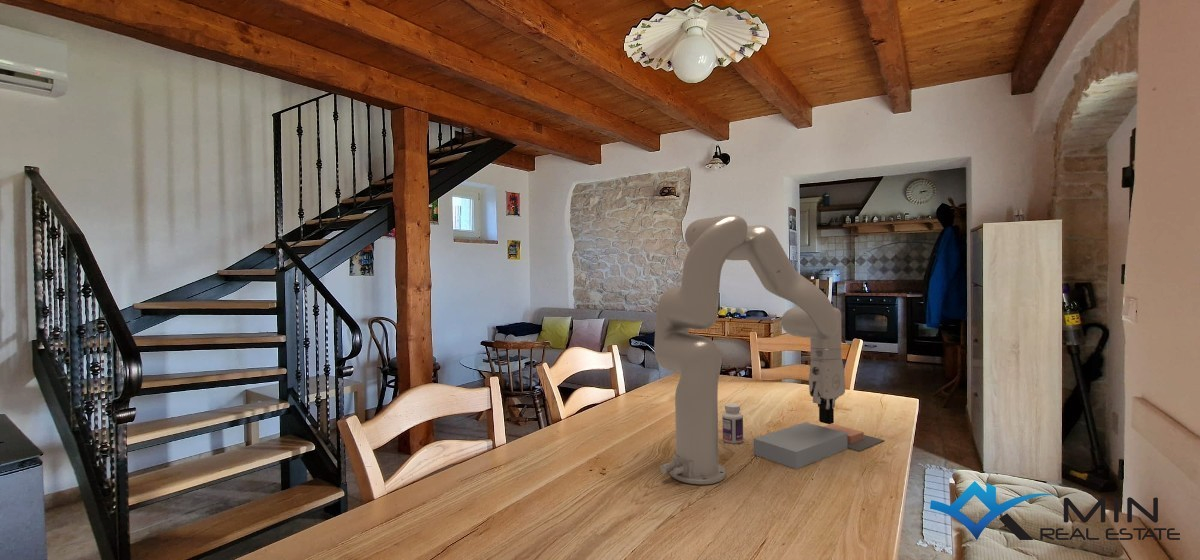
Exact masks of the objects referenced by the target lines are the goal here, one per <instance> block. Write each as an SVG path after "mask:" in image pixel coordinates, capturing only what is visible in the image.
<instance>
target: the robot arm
mask: <svg viewBox="0 0 1200 560" xmlns="http://www.w3.org/2000/svg"><path fill="white" fill-rule="evenodd" d="M684 232H685V233H684V240H685V243H686V245H687V247H688V248H689V250H688V252H687V254H686V256H685V259H684V263H683V268H682V277H681V285H680V286H674V287H671V288H668V289H667V290H666V291H664V292H663V294H662V295H661V296H660V298H659V300H658V303H657V308H656V312H655V313H656V314H655V325H654V327H655V328H654V329H655V330H654V345H653V347H654V348H653V349H654V357H655V359H656V361H657V363H658V365H659V366H660V367H661V368H662V369H665V370H667V371H670V372H672V373H676V374H679V375H680V378H679V380H678V383H677V386H676V388H675V395H674V407H675V409H674V410H675V414H674V415H675V416H674V417H675V419H674V420H675V454H673V455H672V460H671V461H670V462H667V463H663V464H660V466H659V469H660V472H661V474H664V475H665V474H667V473H669V475H670V476H671V477H672V478H673V479H674V480H677V481H679V482H682V483H685V484H691V485H712V484H717V483H719V482H721V481H722V480H724V479H725V477H726V475H727V474H726V469H725V467H724V466H723V465H722V464H720V463H719V412H718V411H719V406H718V404H719V403H718V401H719V400H718V398H719V397H718V396H719V395H718V393H719V391H718V390H719V378H720V373H721V367H722V363H723V358H722V353H721V350H720V347H719V346H718V344H717V343H716V342H715V341H713V340H712V339H710V338H709V337H706V336H703V335H697V334H694V333H693V334H692V333H690V329H691V330H707V329H710V328H711V327H713V326H714V324H715V323H716V322H717V318H718V314H719V313H718V312H719V302H720V301H719V300H720V285H721V284H720V283H721V276H722V275H721V273H722V269H723V266H724V264H725V262H726V261H727V260H728V261H748V263H749V265H750V266H751V268H752V269H753V270H754V272H755V274H756V276H757V277H758V279H759V281H760V283H761V285H762V287H764V290H766V291H767V292H770V293H772V294H774V295H775V296H777V297H779V298H782V299H784V300H786V301H789V302H791V303H792V304H794V305H796V306H798V307H793V308H790V309H788V310H786V311H785V312H784V313H783V315H782V316H781V320H780V323H781V327H782V329H783V330H784V331H785V332H786V333H787V334H788V335H791V336H794V337H800V338H809V339H810V365H809V375H808V376H809V377H808V390H809V395H810V397H812V403H813V404H816V405H817V408H818V421H819V422H820V423H822V424H826V425H830V424H835V421H834V420H835V419H834V414H835V413H834V412H835V411H834V408H835V406H836V400H838V398H840V397H842V396H844V395H845V393H846V379H845V377H846V376H845V369H844V363H843V358H842V312H841V310H840V309H839V308H837V307H834V306H833V304H832V303H831V300H830V299H829V297H828V296H827V295H826V294H825V292H823V290H821V289H820V288H819V287H818V286H816V285H815V284H814V283H813V282H812V281H810V280H809V279H807V278H806V277H805V276H803V275H802V274H800V273H799V272H797V270H796V269H795V267H794V266H793V264H792V262H791V260H790V258H789V257H788V255H787V253H786V251H785V250H784V248H783V246H782V244H781V242H780V241H779V239H778V237H777V236H776V234H775V232H774V230H772V229H771V228H770V227H768V226H766V225H763V224H762V225H758V224H756V225H748V224H747V221H746V220H745V218H743V217H741V216H740V215H735V214H726V215H725V214H724V215H717V216H713V217H706V218H700V219H697V220H694V221H693V222H691V223H689V224H688V225H687V228H686V230H685V231H684Z"/></svg>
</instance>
